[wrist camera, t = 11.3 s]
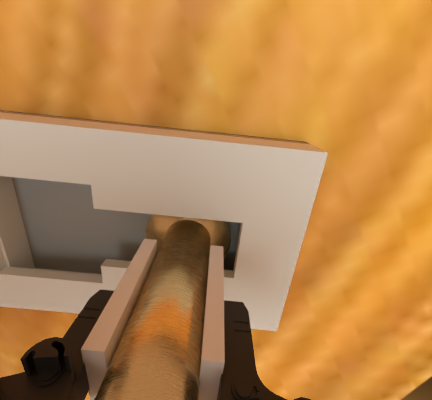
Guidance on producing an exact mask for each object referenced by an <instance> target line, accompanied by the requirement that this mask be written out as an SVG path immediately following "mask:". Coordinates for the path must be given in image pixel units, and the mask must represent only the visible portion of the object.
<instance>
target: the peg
mask: <svg viewBox="0 0 432 400" xmlns="http://www.w3.org/2000/svg"><path fill="white" fill-rule="evenodd" d="M145 237H146V239H152V240H157V255H156V257H155V260H154V262H153V264H152V267H151V269H150V271H149V274H148V276H147V278H146V281H145V283H144V285H143V288H142V290H141V292H140V295H139V297H138V299H137V302H136V304H135V306H134V309H133V311H132V313H131V316H130V318H129V320H128V323H127V325H126V327H125V330H124V332H123V334H122V337H121V339H120V341H119V344H118V346H117V348H116V351H115V353H114V355H113V358H112V360H111V362H110V365H109V367H108V369H107V372H106V374H105V376H104V379H103V381H102V383H101V386H100V388H99V390H98V393H97V395H96V397H95V400H198V399H199V386H200V382H199V376H200V364H201V352H202V339H203V327H204V315H205V303H206V290H207V278H208V266H209V255H210V246H211V245H214V246H223V258H225V257H226V255H227V253H228V251H229V249H230V244H231V234H230V223H229V222H228V221H217V220H207V219H197V218H186V217H176V216H166V215H155V214H153V215H152V216H151V218H150V220H149V221H148V224H147V227H146V232H145Z"/></svg>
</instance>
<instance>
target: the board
mask: <svg viewBox="0 0 432 400" xmlns="http://www.w3.org/2000/svg"><path fill="white" fill-rule="evenodd" d="M327 155H328V152H326V151H323V150H321V149H319V148H317V147H315V146H313V145H310V144H308V143H306V142H301V141H291V140H281V139H272V138H262V137H252V136H243V135H233V134H223V133H214V132H204V131H194V130H185V129H175V128H165V127H156V126H146V125H136V124H127V123H117V122H107V121H98V120H88V119H79V118H69V117H59V116H50V115H40V114H30V113H21V112H11V111H1V110H0V307H10V308H21V309H32V310H44V311H55V312H66V313H78V314H79V313H80V312H81V310H83V307H84V306H85V305H86V303H87V302H88V300H89V299H90V297H92V296H93V295H94V294H95V293H97V292H98V291H99V290H100V289H101V290H112V291H115V289H116V287H117V285H118V284H119V282H120V280H121V278H122V277H123V275H124V273H125V271H126V270H127V268H128V266H129V264H130V263H131V261H132V259H133V257H134V256H135V254H136V252H137V250H138V249H139V247H140V245H141V243H142V242H143V240H144V239H146V237H145V232H146V227H147V224H148V221H149V220H150V218H151V216H152V215H153V214H155V215H166V216H176V217H186V218H197V219H207V220H217V221H228V222H229V223H230V234H231V244H230V249H229V251H228V253H227V255H226V257H225V258H224V300H226V301H237V302H243V303H244V305H245V306H246V308H247V310H248V312H249V319H250V327H251V329H259V330H270V331H277V329H278V325H279V322H280V318H281V315H282V311H283V308H284V305H285V301H286V298H287V294H288V291H289V287H290V284H291V280H292V277H293V273H294V270H295V266H296V263H297V259H298V256H299V252H300V249H301V246H302V242H303V239H304V235H305V232H306V228H307V225H308V221H309V218H310V214H311V211H312V207H313V204H314V200H315V197H316V193H317V190H318V187H319V183H320V180H321V176H322V173H323V169H324V166H325V162H326V159H327Z"/></svg>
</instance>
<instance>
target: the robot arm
mask: <svg viewBox="0 0 432 400" xmlns="http://www.w3.org/2000/svg"><path fill="white" fill-rule="evenodd" d="M156 255H157V240H152V239H144V240H143V242H142V243H141V245H140V247H139V249H138V250H137V252H136V254H135V256H134V257H133V259H132V261H131V263H130V264H129V266H128V268H127V270H126V271H125V273H124V275H123V277H122V278H121V280H120V282H119V284H118V285H117V287H116V289H115V291H112V290H101V289H100V290H99V291H98V292H97V293H95V294H94V295H93V296H92V297H90V299H89V300H88V302H87V303H86V305H85V306H84V307H83V310H81V312H80V313H79V315H78V317H77V318H76V319H75V321H74V322H73V324H72V325H71V327H70V328H69V330H68V331H67V333H66V334H65V336H64V337H63V338H58V337H54V338H49V339H45V340H43V341H41V342H39V343H37V344H35V345H34V346H33V347H31V348H30V349H29V350H28V351H27V352H26V353H25V354H24V355H23V357H22V358H21V361H22V364H23V367H24V370H25V372H23V373H19V374H15V375H11V376H6V377H2V378H0V400H84V399H85V397H86V395H87V393H88V391H89V394H90V399H95V397H96V395H97V393H98V390H99V388H100V386H101V383H102V381H103V379H104V376H105V374H106V372H107V369H108V367H109V365H110V362H111V360H112V358H113V355H114V353H115V351H116V348H117V346H118V344H119V341H120V339H121V337H122V334H123V332H124V330H125V327H126V325H127V323H128V320H129V318H130V316H131V313H132V311H133V309H134V306H135V304H136V302H137V299H138V297H139V295H140V292H141V290H142V288H143V285H144V283H145V281H146V278H147V276H148V274H149V271H150V269H151V267H152V264H153V262H154V260H155V257H156ZM199 382H200V386H199V399H198V400H286V399H284V398H282V397H280V396H278V395H276V394H274V393H273V392H271V391H269V390H268V389H267V388H266V387H265V386H264V385H263V383H262V382H261V380H260V379H259V377H258V374H257V371H256V366H255V358H254V350H253V343H252V335H251V327H250V319H249V312H248V310H247V308H246V306H245V305H244V303H243V302H237V301H226V300H224V258H223V246H214V245H211V246H210V255H209V266H208V278H207V290H206V303H205V315H204V327H203V339H202V352H201V364H200V376H199ZM294 400H310V399H307V398H303V397H300V398H297V399H294Z"/></svg>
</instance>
